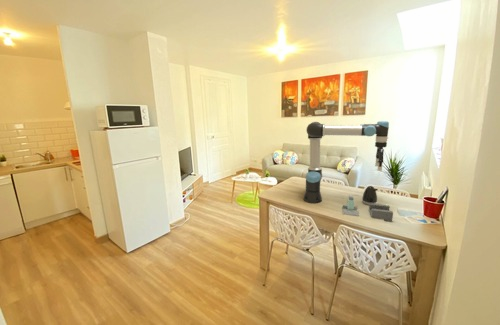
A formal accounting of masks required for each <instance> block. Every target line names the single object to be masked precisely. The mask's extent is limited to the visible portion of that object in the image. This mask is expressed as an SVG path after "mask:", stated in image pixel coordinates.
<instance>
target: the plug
mask: <svg viewBox="0 0 500 325" xmlns="http://www.w3.org/2000/svg"><path fill="white" fill-rule="evenodd" d="M346 202H347V203H346V205H347V209H348V210H354V206H355V198H354V195H352V194H351V195H350V194H349V195H348V197H347V201H346Z"/></svg>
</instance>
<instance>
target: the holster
mask: <svg viewBox="0 0 500 325" xmlns="http://www.w3.org/2000/svg"><path fill="white" fill-rule="evenodd" d="M341 211H342V215H348V216H355V217H359V214H360V213H359V212H360V211H359V210H358V205H354V210H348V209H347V204H342V210H341Z"/></svg>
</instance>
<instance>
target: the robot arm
mask: <svg viewBox="0 0 500 325" xmlns="http://www.w3.org/2000/svg"><path fill="white" fill-rule="evenodd" d="M389 128H390V122H389V121H386V120H385V121H384V120H381V121H380V120H379V121H377V123H374V124H372V123H364V124H363V123H362V124H359V125H358V124H356V125H353V124H351V125H349V124H348V125H342V124H340V125H338V124H336V125H332V124H331V125H330V124H329V125H326V124H325V123H320V122H318V121H312V122H311V123H309V124H308V125H307V127H306V130H305V131H306V134H307V139H308V140H309V166H308V168H307V172H306V174H305V191H304V194H303V198H302V199H303V201H304V202H306V203H310V204H319V203H321V202H322V201H323V196H322V193H321V182H322V179H323V173H322V172H323V168H322V167H321V140H322V139H323V137H325V136H353V137H355V136H356V137H357V136H359V137H360V136H362V137H363V136H364V137H373V136H375V143H374V147H376V153H375V164H374V165H375V167H377V170H376V171H378V172H379V171H380V172H382V170H383V164H384V151H385V149H384V148H386V147H387V145H388V139H389V137H388V136H389V135H388V134H389Z"/></svg>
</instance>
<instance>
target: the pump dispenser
mask: <svg viewBox="0 0 500 325" xmlns="http://www.w3.org/2000/svg"><path fill="white" fill-rule="evenodd" d="M378 190H379V188H375V187H374V186H372V185H368V186H366V188H365V190H364V192H363V194H362V197H361V199H362V202H363V204H364V205H367V206H369V204H370V203H374V204H377V202H378V194H377V191H378Z"/></svg>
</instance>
